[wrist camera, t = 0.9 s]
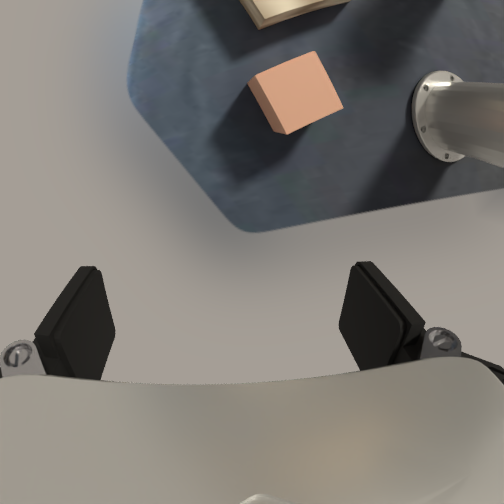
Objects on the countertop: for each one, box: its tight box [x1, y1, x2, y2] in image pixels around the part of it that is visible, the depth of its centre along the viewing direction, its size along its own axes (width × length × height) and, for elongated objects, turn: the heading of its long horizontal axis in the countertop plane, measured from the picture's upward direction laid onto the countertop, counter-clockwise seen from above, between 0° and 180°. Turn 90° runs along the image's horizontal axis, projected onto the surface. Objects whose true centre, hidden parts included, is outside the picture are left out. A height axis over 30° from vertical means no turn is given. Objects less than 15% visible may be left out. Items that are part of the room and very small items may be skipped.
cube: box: [247, 51, 343, 135], centre depth 26 cm, size 6×6×6 cm
